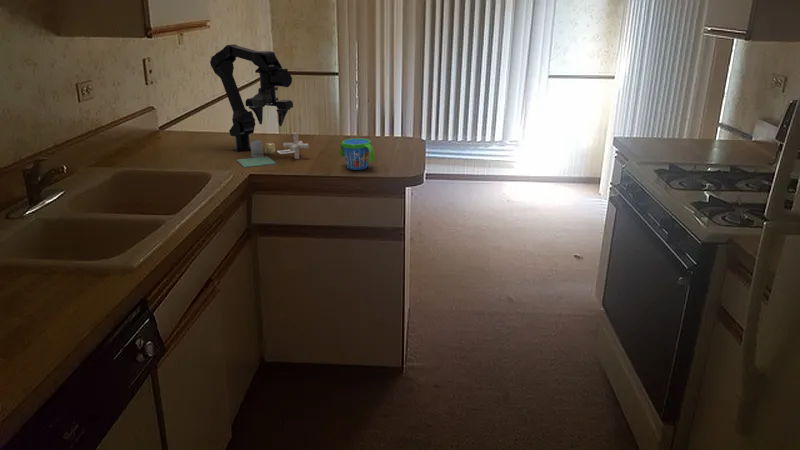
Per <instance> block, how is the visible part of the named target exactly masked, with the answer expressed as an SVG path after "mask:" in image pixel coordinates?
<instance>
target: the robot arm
mask: <svg viewBox="0 0 800 450" xmlns="http://www.w3.org/2000/svg"><path fill="white" fill-rule="evenodd" d="M237 58H238V59H242V60H246V61H249V62H251V63H252V64H253V65H254V66H257V67H258V68H256V70H255V71H254V72H255V73H256V74H258V75H259V84H260V86H259V88H258V91H257V93H256V94H255V95H254V96H253V97H249V98H246V100H245V104H244V101H243V99H242V97H241V93H240V91H239V89H238V86H237V82H236V80H235V78H234V70H235V69H234V68H235V67H234V63H235V62H236V60H237ZM209 63H210V64H209V65H210V67H211V69H212V70H213V72H214V74H215V75H216V76H218V77H219V78H220V79H221V82H222V85H223V88H224V90H225V94H226V96H227V100H228V101H229V104H230V107H231V109H232V112H233V113H232V126H231V127H230V129H229V131H228V132H229V135H230V136H231V137H235V138H234V139H235V146H234V147H233V149H234V150H235V151H237V152H245V151H251V143H250V142H251V140H250V135H251V134H252V135H253V134H254V131H255V127H256V119H257V122H258V123H259V125H262V124H263V121H264V120H263V117H264V115H263V114H264V111H263V110H264V107H265V106H266V107H267V106H268V107H269V106H270V107H276V108H277V109H275V111H276V112H277V115H278V116H277V118H278V127H282V125H283V123H284V120H285V119H286V115H287V113H288V111H289V110H291V109H292V108H294V103H293V101H292V99H291V100H290V99H282V100H279V98H278V97H277V91H278V87H281V88H289V87H290V86H291V85H292V83H293V77H292V75H291V73H290V72H288V68H283V67H282V65H281V63H280V62H279V60H278V58H277V56H276V55H275V52H274V51H269V50H259V51H258V50H254V49H251V48H247V47H243V46H239V45H238V44H226V45H225V46H224V47H223V48H222V49H221V50H219V51H217V52H216V53H215V54H214V55H212V56H211V58H210V62H209ZM246 107H248V109H250V111H248V110H247V108H246ZM253 112H254V114H253ZM254 115H255V116H254ZM255 117H256V119H255Z"/></svg>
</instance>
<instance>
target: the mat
mask: <svg viewBox="0 0 800 450" xmlns="http://www.w3.org/2000/svg"><path fill="white" fill-rule="evenodd" d="M236 161H237V163H239V164H240V165H241V166H242V167H243V168H244V169H247V168H253V167H254V168H256V167H263V166H271V165H272V166H273V165H277V163H276V161H274V160H273V159H271V158H270V157H269V156H263V157H256V158H253V157H250V158H243V159H242V158H241V159H236Z"/></svg>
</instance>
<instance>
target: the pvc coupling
mask: <svg viewBox="0 0 800 450" xmlns="http://www.w3.org/2000/svg"><path fill="white" fill-rule="evenodd" d="M250 147H251V150H250V151H251V154H250V158H256V157H264V153H263V151H264V150H263V141H262V140H257V139H255V140H250Z"/></svg>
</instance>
